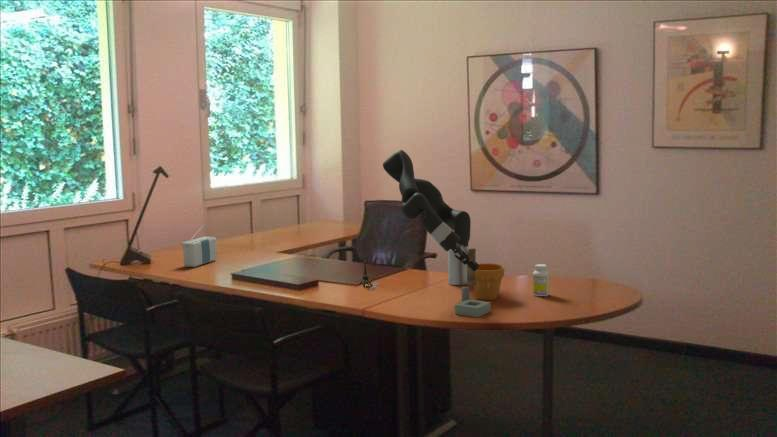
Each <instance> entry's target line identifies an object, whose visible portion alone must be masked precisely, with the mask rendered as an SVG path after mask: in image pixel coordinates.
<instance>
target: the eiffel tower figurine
mask: <svg viewBox="0 0 777 437" xmlns="http://www.w3.org/2000/svg"><path fill="white" fill-rule="evenodd" d="M366 262H367V261H366V259H364V260H363V265H364V266H363V274H362V278H361V280H360V282H359V283H358V285H359V284H361V285H363V287H365V284H370V285H369V287H368V289H367V291H373V290H374V289H375V288H377V287H378V286H379V285H380V283H377V282H372V281H370V280H371V279H369V276H368V273H367V264H366ZM371 283H373V284H371ZM363 287H362V288H363ZM370 287H372V288H370ZM365 288H366V287H365Z"/></svg>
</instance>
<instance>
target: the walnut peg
mask: <svg viewBox="0 0 777 437" xmlns="http://www.w3.org/2000/svg"><path fill="white" fill-rule="evenodd" d="M467 254H468V257H469V258H470V259H471V261H473V262H474V263H475V264H476V262H477V261H476V259H477V258H476V255H477V254H476V248H475V247H468V249H467ZM466 285H467V286H468V287H469V286H470V287H471V286H473V287H474V285H475V271H473V270H472V269H471V268H470V267H469V266H468V265H467V284H466Z"/></svg>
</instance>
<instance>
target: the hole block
mask: <svg viewBox="0 0 777 437" xmlns="http://www.w3.org/2000/svg"><path fill="white" fill-rule="evenodd" d="M489 312H491V302H490V301H483V300H477V299H476V300H474V299H470V300H469V299H467V300H465V301H463V302H462V301H461V302H459V303H456V304H455V305H454V313H455V315H459V316H460V315H461V316H469V317H475V318H480V317H482V316H484V315H485V314H487V313H489Z"/></svg>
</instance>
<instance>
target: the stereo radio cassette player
mask: <svg viewBox="0 0 777 437" xmlns="http://www.w3.org/2000/svg"><path fill="white" fill-rule="evenodd" d="M203 226H204V225H202V226H201V227H200V228H199V229H198V230H197V231H196V232H195V234H193V236H192V237H191V238H190V240H187V241H183V242H181V247H182V253H183V254H182V255H183V266H184V267H186V268H187V267H188V268H193V267H194V268H195V267H199V266H201V265H204V264H208V263H211V262H215V261H216V260H217V259H218V244H217V238H216V237H215V236H201V237H198V238H194V237H195V236H196V235H197V234H198V233H199V232H200V230H201V229H202V227H203Z"/></svg>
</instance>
